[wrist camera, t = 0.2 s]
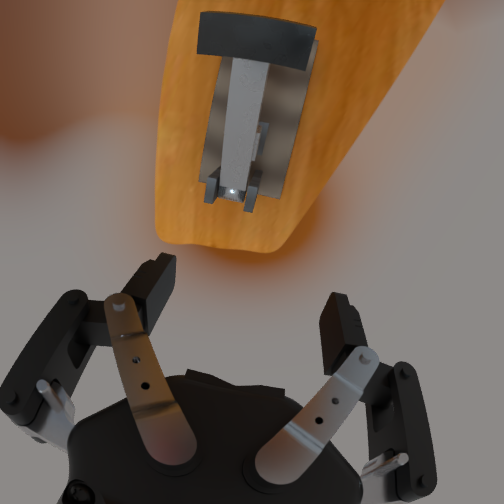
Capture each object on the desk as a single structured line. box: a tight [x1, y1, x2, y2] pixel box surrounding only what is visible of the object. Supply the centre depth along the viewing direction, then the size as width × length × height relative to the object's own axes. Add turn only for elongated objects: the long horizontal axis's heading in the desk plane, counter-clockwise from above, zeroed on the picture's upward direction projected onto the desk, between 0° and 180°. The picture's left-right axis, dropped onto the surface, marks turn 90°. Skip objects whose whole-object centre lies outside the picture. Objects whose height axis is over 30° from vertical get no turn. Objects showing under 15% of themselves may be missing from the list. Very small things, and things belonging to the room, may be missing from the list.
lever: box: [197, 11, 317, 203], centre depth 24 cm, size 21×9×4 cm, turn 168°
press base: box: [199, 40, 319, 213], centre depth 30 cm, size 24×12×11 cm, turn 168°
